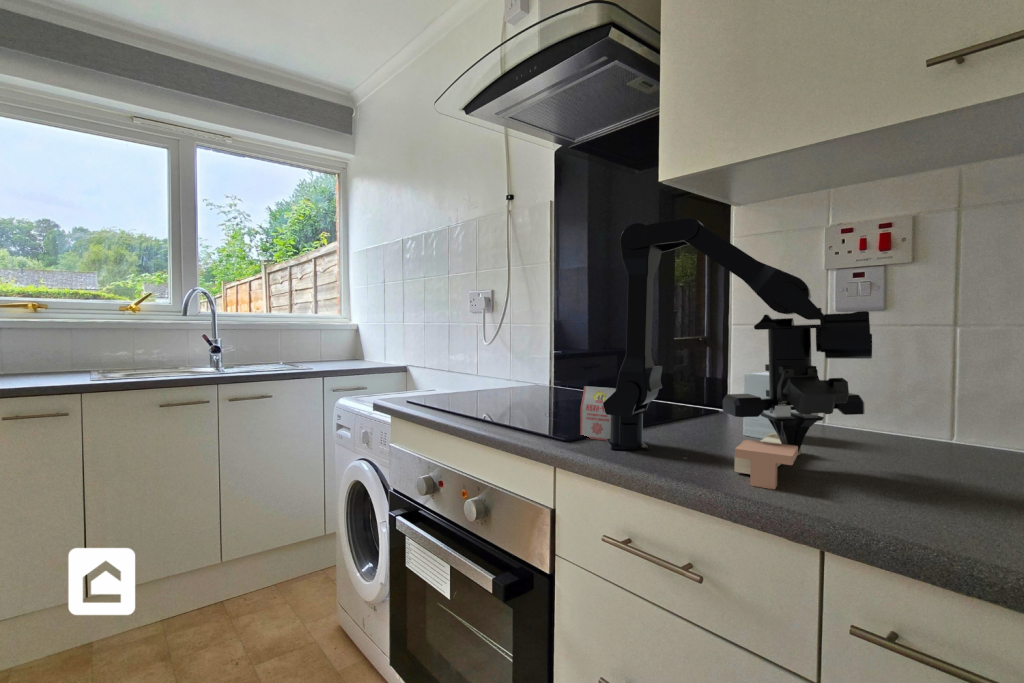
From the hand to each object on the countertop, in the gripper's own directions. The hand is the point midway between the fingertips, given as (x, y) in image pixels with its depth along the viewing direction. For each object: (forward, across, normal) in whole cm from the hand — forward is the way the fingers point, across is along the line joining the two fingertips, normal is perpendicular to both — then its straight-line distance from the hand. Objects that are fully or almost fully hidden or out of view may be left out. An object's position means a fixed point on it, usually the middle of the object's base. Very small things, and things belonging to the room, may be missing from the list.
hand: (791, 459), depth 76 cm
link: (+1, -2, +3) cm, 4 cm away
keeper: (+1, -7, -7) cm, 10 cm away
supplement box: (+2, +7, +23) cm, 24 cm away
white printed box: (+1, -27, +20) cm, 34 cm away
